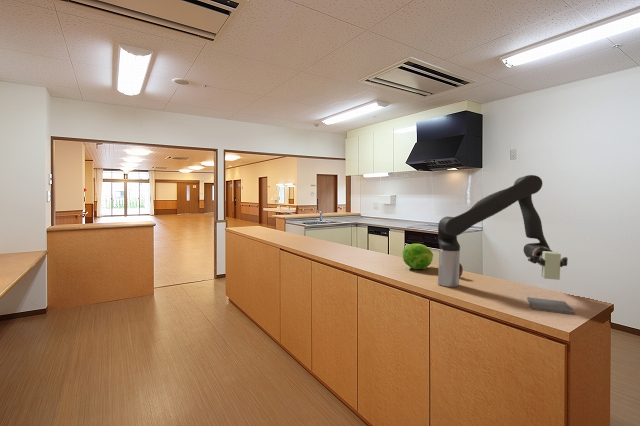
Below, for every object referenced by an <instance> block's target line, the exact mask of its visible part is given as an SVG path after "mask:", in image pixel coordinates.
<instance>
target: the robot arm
mask: <svg viewBox="0 0 640 426" xmlns="http://www.w3.org/2000/svg"><path fill="white" fill-rule="evenodd" d="M542 187H543V180H542V178H541V177H540V176H538V175H534V174H528V175H525V176H521V177H518V178H516V180H515V181H514V183H513V185H511V186H509V187H507V188H504V189H500V190H499V191H496V192H493V193H491V194H489V195H486V196H485V197H483V198H482V199H480V200H478V201H476V203H474V204H473V205H472V206H471V208H470V209H468V210H467V211H464V212H463V213H461V214H458V215H456V216H444V217H442V218H441V219H440V220H439V222H438V226H437V241H438V242H437V243H438V245H439V252H438V253H439V257H438V267H437V268H438V270H437V272H438V273H437V275H438V277H437V286H438V285H439V286H443V287H448V288H449V287H450V288H457V287H459V285H460V277H459V263H460V257H461V256H460V254H461V252H460V251H461V245H460V243H459V242H458V236H459V235H461V234H463V233H464V232H466V231H467V230H469V229H470V228H471V227H473V226H474V225H476V224H478V223H481V222H483V221H485V220H486V219H488V218H490V217H492V216H495V215H496V214H498V213H500V212H502V211H503V210H506V209H507V208H508V207H511V206H512V205H513V204H515V203H516V202H518V205H519V207H520V208H519V209H520V211H521V215H522V220H523V225H524V232H525V236H526V238H528V239H533V240H534V239H535V240H538V242H533V243H532V242H531V243H526V244H525V245H524V247H523V254H524V255H525V257H527V261H528V262H530V263H532V264H537V265H540V266H541V267H542V265H543V266H545V260H544V259H543V258H542V254H543V251H550V252H554V251H553V250H551V248H550V245H549V244H548V242H547V240H546V237H545V236H544V235H545V234H544V230H543V225H542V221H541V219H542V218H541V217H540V215H539V213H538V211H537V210H536V207H535V206H534V203H533V199H532V196H533V195H534V194H537V193H538V192H539V191H540V190H541V189H542ZM567 266H568V257H567V256H565V257H561V262H560V268H563V267H567Z"/></svg>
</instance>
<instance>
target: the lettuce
mask: <svg viewBox="0 0 640 426" xmlns="http://www.w3.org/2000/svg"><path fill="white" fill-rule="evenodd" d="M433 258H434V254H433V252H432V250H431V249H430V248H429V247H427V245H424V244H421V243H411V244H408V245H406V246H405V247H404V248H403V250H402V259H403V262H404V264H406V265H407V266H408V268H411V269H413V270H422V269H426V268H427V267H429V266H430V265H431V264H432V262H433Z"/></svg>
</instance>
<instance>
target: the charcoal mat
mask: <svg viewBox="0 0 640 426" xmlns="http://www.w3.org/2000/svg"><path fill="white" fill-rule="evenodd" d="M526 300H527V301H528V304H529V306H530V307H531V309H532V310H537V311H538V310H539V311H543V312H544V311H545V312H552V313H558V314H559V313H560V314H568V315H574V314H575V311H574V310H573V309H572V308H571V307H570V306H569V305H568V303H567V302H566V301H563V300H556V299H549V298H547V299H546V298H538V297H530V296H528V297H526Z"/></svg>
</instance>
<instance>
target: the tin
mask: <svg viewBox="0 0 640 426" xmlns="http://www.w3.org/2000/svg"><path fill="white" fill-rule="evenodd" d="M463 270H464V269H463V265H462V264H461V263H460V262H459V278H460V277H461V276H462V275H463Z"/></svg>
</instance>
